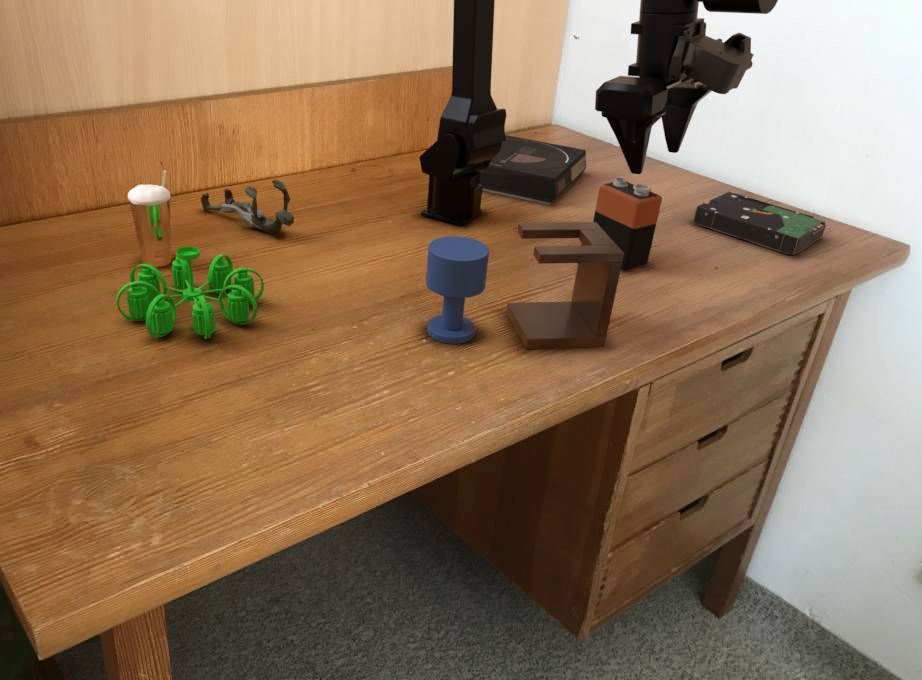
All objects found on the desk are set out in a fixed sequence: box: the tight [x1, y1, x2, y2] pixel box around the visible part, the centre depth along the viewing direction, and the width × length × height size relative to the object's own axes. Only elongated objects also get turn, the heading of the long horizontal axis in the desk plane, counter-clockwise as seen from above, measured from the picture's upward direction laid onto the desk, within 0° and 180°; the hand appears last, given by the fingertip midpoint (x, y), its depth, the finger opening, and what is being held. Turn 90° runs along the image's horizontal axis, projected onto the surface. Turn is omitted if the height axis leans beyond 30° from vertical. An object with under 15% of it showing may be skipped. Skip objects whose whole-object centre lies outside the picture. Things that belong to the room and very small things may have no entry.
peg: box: [425, 235, 490, 345], centre depth 83 cm, size 6×6×10 cm
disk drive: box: [693, 191, 827, 256], centre depth 115 cm, size 10×3×15 cm
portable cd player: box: [477, 134, 587, 206], centre depth 128 cm, size 16×17×4 cm
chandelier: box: [115, 246, 265, 340], centre depth 84 cm, size 15×15×7 cm
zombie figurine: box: [200, 179, 295, 235], centre depth 105 cm, size 5×7×15 cm
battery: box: [592, 176, 663, 271], centre depth 102 cm, size 4×7×10 cm, turn 35°
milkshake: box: [127, 170, 172, 269], centre depth 94 cm, size 4×5×10 cm
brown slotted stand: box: [505, 221, 624, 350], centre depth 85 cm, size 8×8×10 cm
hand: (655, 162), depth 92 cm, fingers open, 9 cm apart
